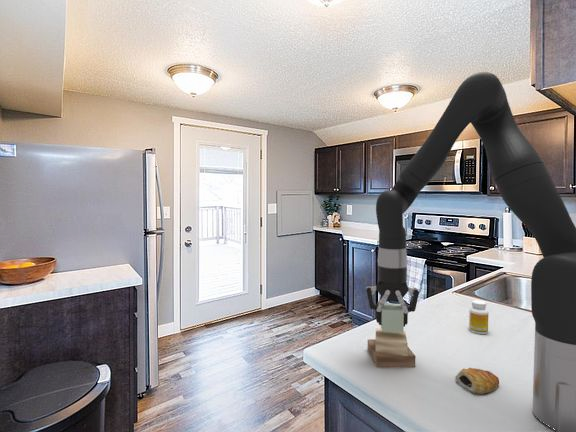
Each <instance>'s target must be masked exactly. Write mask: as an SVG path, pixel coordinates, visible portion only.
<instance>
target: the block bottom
mask: <svg viewBox="0 0 576 432" xmlns="http://www.w3.org/2000/svg"><path fill="white" fill-rule="evenodd" d="M367 351H368V353H369V355H370V356H371V359H372V361H373V362H374V365H375V364H376V365H375V366H376V368H377V367H382V368H416V355H415V353H414V352H413V351H412V350H411V348H409V346H408V349H407V356H401V355H393V354H384V353H376V338H374V339H369V338H368V339H367Z"/></svg>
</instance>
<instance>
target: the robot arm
mask: <svg viewBox="0 0 576 432" xmlns="http://www.w3.org/2000/svg"><path fill="white" fill-rule="evenodd" d="M500 80H501V79H499V77H498V76H497V75H495V74H494V73H492V72H489V71H480V72H476V73H473V74H472V75H469V76H467V78H466V79H464V80H463V81H462V82H461V83H460V85H459V87H458V88H457V90H456V91H455V93H454V94H453V96H452V98H451V100H450V101H449V103H448V105H447V106H446V108H445V110H444V112H443V113H442V115H441V117H440V118H439V120H438V121H437V123H436V125H435V126H434V128H433V129H432V131H431V132H430V133H429V135H428V137H427V138H426V139H425V141H424V142H423V143H422V145H421V146H420V148H419V149H418V150H417V152H415V154H414V156H412V158H411V159H410V160H409V161H408V162H407V164H406V165H405V166H404V167H403V169H402V171H401V172H400V173H399V175H398V176H399V178H398V180H397V181H396V183H395V184H394V185H393V187H391V189H390V190H386V191H383V192H382V193H380V194H379V195H378V197H377V199H376V204H375V213H376V221H377V226H378V232H379V233H378V251H377V252H378V253H377V283H376V285H372V286H370V285H367V286H366V287H365V289H366V294H367V300H368V305H369V308H370V310H374V311H375V316H376V317H375V320H376V323H377V324H378V325H379V326H381V324H382V312H381V310H382V308H383V306H384V304H385V303H386V302H394V303H399V304H400V305H401V307H402V309H403V311H404V327H406V325H408V322H409V321H408V319H409V317H408V314H409V313H411V312H413V313H414V312H415V311H416V308H417V305H418V299H419V295H420V290H419V289H418V288H416V287H409V286H408V285H407V284H408V282H407V278H408V276H407V275H408V272H407V271H408V255H407V253H408V252H407V232H406V228H405V227H404V213H405V212H407V210H409V208H410V207H411V206H412V205H413V203H414V201H415V200H416V198H417V197H418V196H419V194H420V192H421V191H422V190H423V189H424V188H425V187H426V186H427V185H428V183H429V182H430V181H431V180H432V179H433V178H434V177H435V175H436V174H437V173H438V172H439V171H440V169H441V167H442V166H443V165H444V164H445V162H446V160H447V157H448V156H449V154H450V152H451V150H452V148H453V146H454V144H455V143H456V141H457V140H458V138H459V137H460V135H461V134H462V133H463V131H464V130H466V128H467V126H468V127H469V125H470V124H471V125H472V127H473V128H474V130H475V131H476V133H477V134H478V137H479V139H480V140H481V142H482V143H483V146H484V150H485V154H486V160H487V163H488V167H489V170H490V174H491V176H492V179H493V181H494V184H495V185H496V188H497V189H498V193H499V194H500V197H501V198H502V201H504V203H505V205H506V206H507V207H508V209H509V210H510V211H511V212H512V213H513V214H514V215H515V216H516V218H518V219H519V220H520V221H521V223H522V224H523V225H524V226H525V227H526V228H527V229H528V230H529V232H530V233H531V234H532V236H533V238H534V239H535V242H536V244H537V245H538V247H539V250H540V252H541V254H542V257H543V258H541V259H539V260H538V261H537V262H536V263H535V265H534V267H533V269H532V272H531V281H530V282H531V283H530V284H531V285H530V286H531V287H530V293H531V294H530V298H531V299H530V300H531V305H530V306H531V307H530V308H531V314H532V318H533V320H534V322H535V323H534V328H535V329H534V350H533V353H534V354H533V374H532V375H533V376H532V377H533V379H532V380H533V382H532V383H533V384H532V406H531V407H532V413H533V416H534V415H535V416H536V417H535V416H534V417H535V418H536V419H537V418H538V419H539V420H541V421H542V422H544V423H545V424H547V425H549V426H550V427H552V428H554V429H555V430H554V429H553V430H554V431H555V432H576V225H575V224H574V222H573V220H572V218H571V216H570V213H569V211H568V209H567V206H566V205H565V203H564V200H563V198H562V197H561V195H560V192H559V191H558V189H557V187H556V185H555V183H554V180H553V179H552V176H551V175H550V172H549V171H548V168H547V167H546V165H545V163H544V161H543V160H542V158H541V156H540V155H539V154H538V152H537V150H536V149H535V147H534V146H533V145H532V143H531V142H530V141H529V140H528V139H527V138H526V136H525V135H524V134H523V133H522V131H521V130H520V128H519V126H518V124H517V122H516V119H515V117H514V115H513V112H512V110H511V106H510V103H509V101H508V97H507V93H506V91H505V88H504V86H503V84H502V82H501V81H500ZM375 292H377V293H378V294H379V295H380V296H379V299H378V301H377V303H374V298H373V295H374V294H375ZM408 292H409V296H410V300H409V305H406V303H405V300H404V297H405V296H406V294H408ZM538 419H537V420H538ZM539 420H538V421H539ZM541 421H540V422H541ZM542 422H541V423H542ZM545 424H544V425H545ZM550 427H549V428H550ZM552 428H551V429H552Z"/></svg>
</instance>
